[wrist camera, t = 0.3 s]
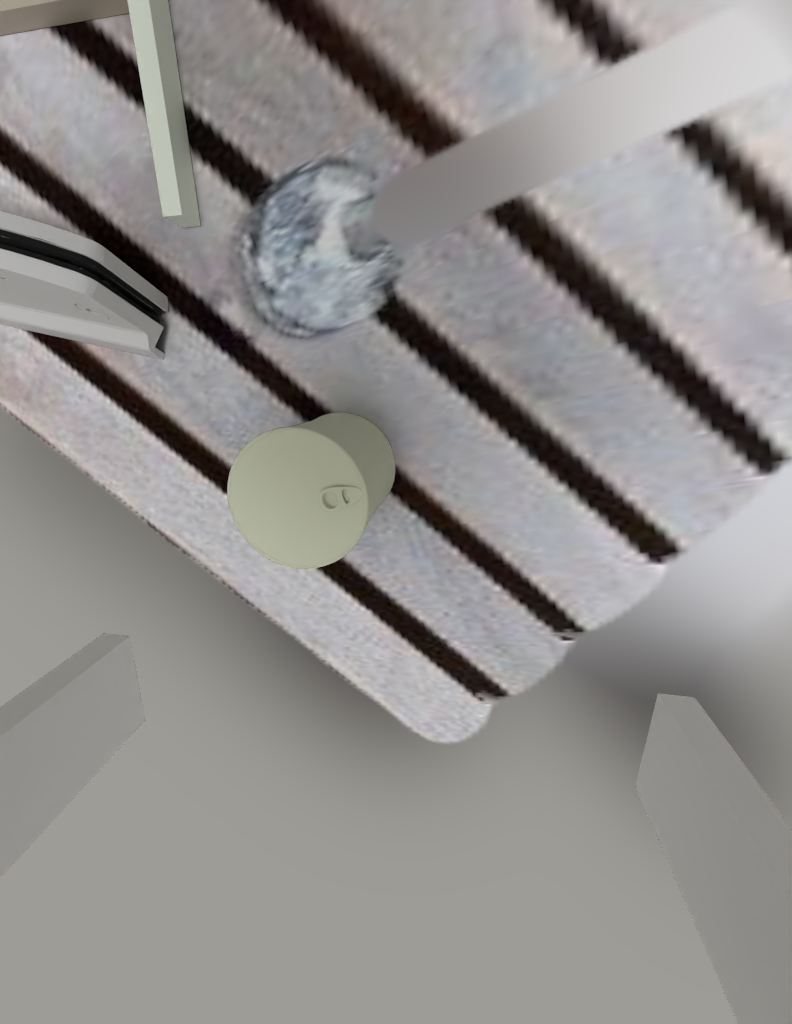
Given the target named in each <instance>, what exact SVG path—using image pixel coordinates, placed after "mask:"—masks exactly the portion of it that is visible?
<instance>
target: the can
mask: <svg viewBox="0 0 792 1024" xmlns="http://www.w3.org/2000/svg"><path fill="white" fill-rule="evenodd" d="M394 478H395V459H394V454H393V451H392V448H391V446H390V444H389V442H388V440H387V438H386V437H385V435H384V434H383V433H382V432H381V431H380V429H379V428H378V427H376V426H375V425H374V424H373V423H371V422H370V421H368V420H367V419H365V418H363V417H361V416H358V415H355V414H351V413H344V412H337V413H330V414H326V415H323V416H320V417H318V418H316V419H315V420H313V421H309V422H306V423H302V424H298V425H294V426H290V427H281V428H276V429H272V430H269V431H266V432H264V433H262V434H260V435H258V436H256V437H255V438H254V439H252V440H251V441H250V442H249V443H247V444H246V445H245V446H244V447H243V449H242V450H241V451H240V452H239V454H238V455H237V457H236V459H235V461H234V463H233V465H232V467H231V470H230V474H229V478H228V486H227V494H228V503H229V508H230V511H231V514H232V517H233V520H234V522H235V524H236V526H237V528H238V530H239V531H240V533H241V534H242V536H243V537H244V538H245V539H246V541H247V542H248V543H249V544H250V545H251V546H252V547H253V548H254V549H255V550H257V551H258V552H259V553H260V554H262V555H263V556H265V557H266V558H268V559H270V560H272V561H274V562H276V563H279V564H281V565H285V566H288V567H293V568H301V569H309V568H318V567H322V566H326V565H328V564H331V563H333V562H335V561H337V560H339V559H341V558H342V557H343V556H345V555H346V554H347V553H348V552H350V551H351V549H352V548H353V547H354V546H355V545H356V543H357V542H358V541H359V539H360V538H361V536H362V534H363V531H364V529H365V527H366V525H367V523H368V521H369V520H370V518H371V517H372V515H373V514H374V512H375V510H376V509H377V507H378V506H379V505H380V504H381V503H382V502H383V501H384V500H385V498H386V497H387V496H388V494H389V492H390V490H391V488H392V485H393V482H394Z"/></svg>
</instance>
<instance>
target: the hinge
mask: <svg viewBox="0 0 792 1024" xmlns="http://www.w3.org/2000/svg"><path fill="white" fill-rule="evenodd" d="M162 311H165V312H168V299H167V296H166V295H164V294H163V293H162V292H160V291H159V290H158V289H157V288H155V287H154V286H153V285H152V284H150V283H149V282H148V281H146V280H145V279H144V278H143V277H141V276H140V275H139V274H138V273H136V272H135V271H134V270H132V269H131V268H130V267H129V266H127V265H126V264H125V263H124V262H122V261H121V260H120V259H119V258H117V257H116V256H115V255H113V254H112V253H111V252H110V251H108V250H107V249H106V248H104V247H103V246H102V245H100V244H98V243H96V242H94V241H92V240H90V239H88V238H85V237H82V236H79V235H77V234H74V233H71V232H68V231H65V230H62V229H59V228H56V227H53V226H50V225H47V224H44V223H41V222H38V221H34V220H31V219H27V218H24V217H20V216H17V215H14V214H10V213H6V212H2V211H0V324H2V325H6V326H11V327H15V328H20V329H25V330H29V331H34V332H38V333H43V334H47V335H52V336H57V337H61V338H66V339H70V340H75V341H80V342H84V343H89V344H93V345H98V346H102V347H107V348H112V349H116V350H121V351H125V352H130V353H135V354H139V355H144V356H148V357H153V358H157V359H162V360H164V357H165V354H164V353H163V352H161V351H160V350H159V349H157V348H156V347H155V346H156V344H157V342H158V339H159V337H160V335H161V333H162V330H163V328H164V327H163V326H161V325H160V324H159V321H160V320H159V319H158V318H156V317H155V316H153V315H152V314H150V313H149V312H151V313H156V314H161V313H162Z"/></svg>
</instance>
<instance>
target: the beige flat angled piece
mask: <svg viewBox="0 0 792 1024" xmlns="http://www.w3.org/2000/svg"><path fill="white" fill-rule="evenodd" d="M126 13H130V20H131V26H132V32H133V38H134V44H135V50H136V56H137V62H138V68H139V74H140V80H141V86H142V92H143V98H144V104H145V110H146V117H147V123H148V129H149V135H150V141H151V147H152V153H153V159H154V165H155V171H156V177H157V183H158V189H159V195H160V201H161V207H162V214H163V217H164V218H166V219H168V220H170V221H172V222H174V223H175V224H177V225H179V226H181V227H183V228H185V227H195V226H201V224H200V218H199V211H198V204H197V197H196V190H195V183H194V176H193V169H192V162H191V155H190V148H189V141H188V134H187V127H186V120H185V113H184V106H183V99H182V93H181V86H180V79H179V72H178V65H177V58H176V51H175V44H174V37H173V30H172V23H171V16H170V9H169V2H168V0H0V36H1V35H7V34H13V33H18V32H24V31H30V30H35V29H41V28H47V27H52V26H58V25H64V24H70V23H75V22H81V21H87V20H92V19H98V18H104V17H109V16H115V15H121V14H126Z"/></svg>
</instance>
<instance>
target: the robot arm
mask: <svg viewBox="0 0 792 1024" xmlns="http://www.w3.org/2000/svg"><path fill="white" fill-rule="evenodd" d="M144 721H145V715H144V710H143V705H142V699H141V693H140V688H139V682H138V677H137V671H136V666H135V660H134V655H133V650H132V644H131V638H130V636H126V635H117V634H108V633H103V634H102V635H101V636H99V637H98V638H96V639H95V640H94V641H92V642H91V643H89V644H88V645H87V646H85V647H84V648H82V649H81V650H79V651H78V652H77V653H75V654H74V655H72V656H71V657H70V658H68V659H67V660H66V661H64V662H63V663H61V664H60V665H58V666H57V667H56V668H54V669H53V670H52V671H50V672H49V673H48V674H46V675H45V676H43V677H42V678H40V679H39V680H38V681H36V682H35V683H33V684H32V685H30V686H29V687H28V688H26V689H25V690H23V691H22V692H21V693H19V694H18V695H16V696H15V697H14V698H12V699H11V700H9V701H8V702H7V703H5V704H4V705H3V706H1V707H0V878H1V877H2V876H3V875H4V873H6V871H7V870H8V869H9V868H10V867H11V866H12V865H13V864H14V863H15V861H17V859H18V858H19V857H20V856H21V855H22V854H23V853H24V852H25V851H26V850H27V849H28V848H29V846H30V845H31V844H32V843H33V842H34V841H35V840H36V839H37V838H38V837H39V835H40V834H41V833H42V832H43V831H44V830H45V829H46V828H47V827H48V826H49V825H50V824H51V822H52V821H53V820H54V819H55V818H56V817H57V816H58V815H59V814H60V813H61V812H62V811H63V809H64V808H65V807H66V806H67V805H68V804H69V803H70V802H71V801H72V800H73V799H74V797H75V796H76V795H77V794H78V793H79V792H80V791H81V790H82V789H83V788H84V787H85V786H86V784H87V783H88V782H89V781H90V780H91V779H92V778H93V777H94V776H95V775H96V774H97V772H98V771H99V770H100V769H101V768H102V767H103V766H104V765H105V764H106V763H107V762H108V761H109V759H110V758H111V757H112V756H113V755H114V754H115V753H116V752H117V751H118V750H119V749H120V748H121V746H122V745H123V744H124V743H125V742H126V741H127V740H128V739H129V738H130V737H131V735H132V734H133V733H134V732H135V731H136V730H137V729H138V728H139V727H140V726H141V725H142V724H143V722H144ZM635 787H636V789H637V792H638V794H639V796H640V799H641V801H642V803H643V805H644V808H645V810H646V812H647V815H648V817H649V819H650V822H651V824H652V826H653V828H654V831H655V833H656V835H657V838H658V840H659V842H660V845H661V847H662V849H663V852H664V854H665V856H666V859H667V861H668V863H669V866H670V868H671V870H672V873H673V875H674V877H675V880H676V882H677V884H678V886H679V889H680V891H681V893H682V895H683V898H684V900H685V902H686V905H687V907H688V909H689V912H690V914H691V916H692V919H693V921H694V923H695V926H696V928H697V930H698V932H699V935H700V937H701V939H702V942H703V944H704V947H705V949H706V951H707V954H708V956H709V958H710V960H711V963H712V965H713V967H714V970H715V972H716V974H717V977H718V979H719V981H720V984H721V986H722V988H723V991H724V993H725V995H726V998H727V1000H728V1002H729V1004H730V1007H731V1009H732V1011H733V1014H734V1016H735V1018H736V1020H737V1023H738V1024H792V829H791V827H790V826H789V825H788V823H787V822H786V821H785V819H784V818H783V816H782V815H781V814H780V813H779V811H778V810H777V808H776V807H775V806H774V804H773V803H772V802H771V800H770V799H769V798H768V796H767V795H766V794H765V792H764V791H763V789H762V788H761V787H760V785H759V784H758V783H757V781H756V780H755V779H754V777H753V776H752V775H751V773H750V772H749V770H748V769H747V768H746V766H745V765H744V764H743V762H742V761H741V760H740V758H739V757H738V756H737V754H736V753H735V752H734V750H733V749H732V748H731V746H730V745H729V743H728V742H727V741H726V739H725V738H724V737H723V735H722V734H721V733H720V731H719V730H718V729H717V727H716V726H715V725H714V723H713V722H712V720H711V719H710V718H709V716H708V715H707V714H706V712H705V711H704V710H703V708H702V707H701V706H700V704H699V703H698V701H697V700H696V699H695V698H694V697H686V696H677V695H668V694H658V696H657V700H656V704H655V708H654V713H653V717H652V721H651V725H650V729H649V733H648V738H647V741H646V745H645V749H644V753H643V757H642V761H641V766H640V770H639V774H638V778H637V782H636V786H635Z"/></svg>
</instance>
